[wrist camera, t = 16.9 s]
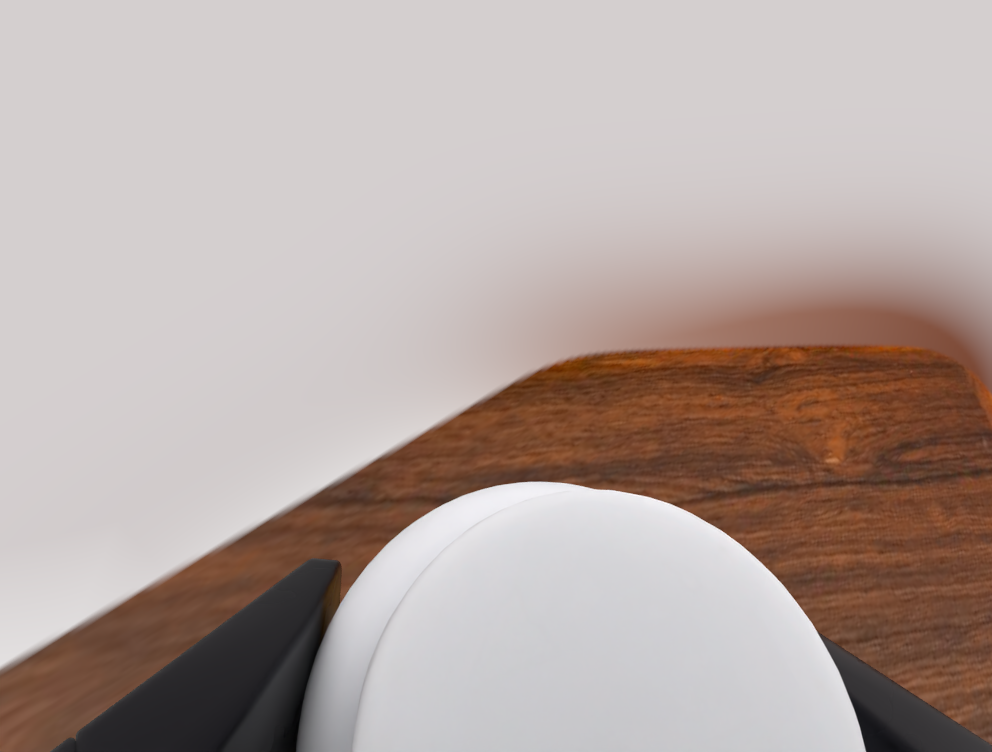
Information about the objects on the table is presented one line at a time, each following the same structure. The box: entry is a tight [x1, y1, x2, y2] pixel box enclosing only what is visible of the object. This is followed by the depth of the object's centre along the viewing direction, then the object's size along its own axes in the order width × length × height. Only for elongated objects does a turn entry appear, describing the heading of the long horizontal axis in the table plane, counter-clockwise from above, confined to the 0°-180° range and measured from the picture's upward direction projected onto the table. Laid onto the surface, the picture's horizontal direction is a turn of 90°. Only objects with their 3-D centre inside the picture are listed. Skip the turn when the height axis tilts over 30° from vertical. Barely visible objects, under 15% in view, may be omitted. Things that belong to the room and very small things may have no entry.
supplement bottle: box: [296, 482, 866, 752], centre depth 9 cm, size 6×6×10 cm
